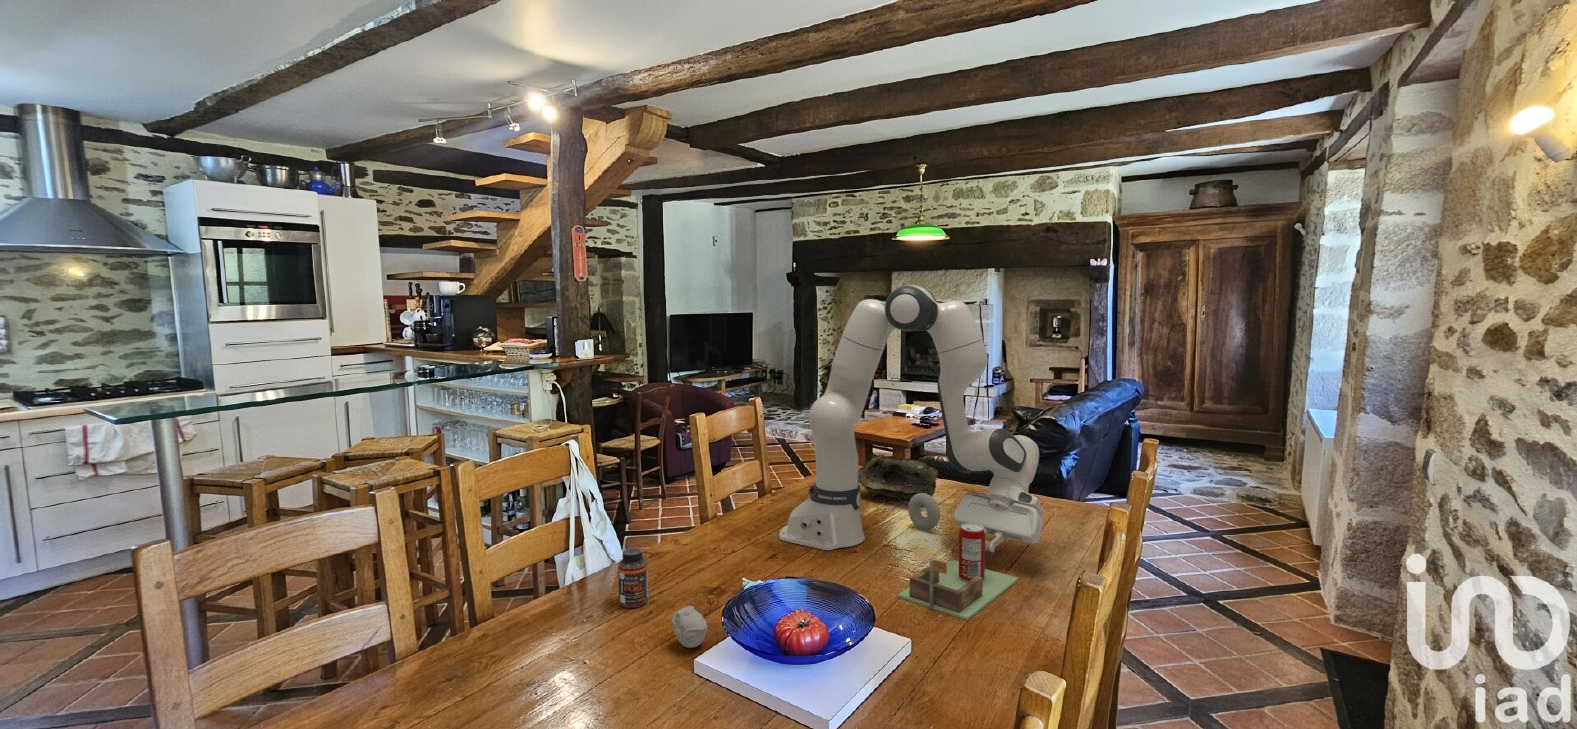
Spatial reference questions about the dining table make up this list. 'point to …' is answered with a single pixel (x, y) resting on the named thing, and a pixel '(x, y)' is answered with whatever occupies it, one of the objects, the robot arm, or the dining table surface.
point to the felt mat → (991, 584)
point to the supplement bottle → (632, 579)
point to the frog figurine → (689, 627)
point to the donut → (932, 511)
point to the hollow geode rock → (897, 477)
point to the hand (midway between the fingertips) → (986, 549)
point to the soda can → (971, 551)
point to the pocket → (943, 589)
